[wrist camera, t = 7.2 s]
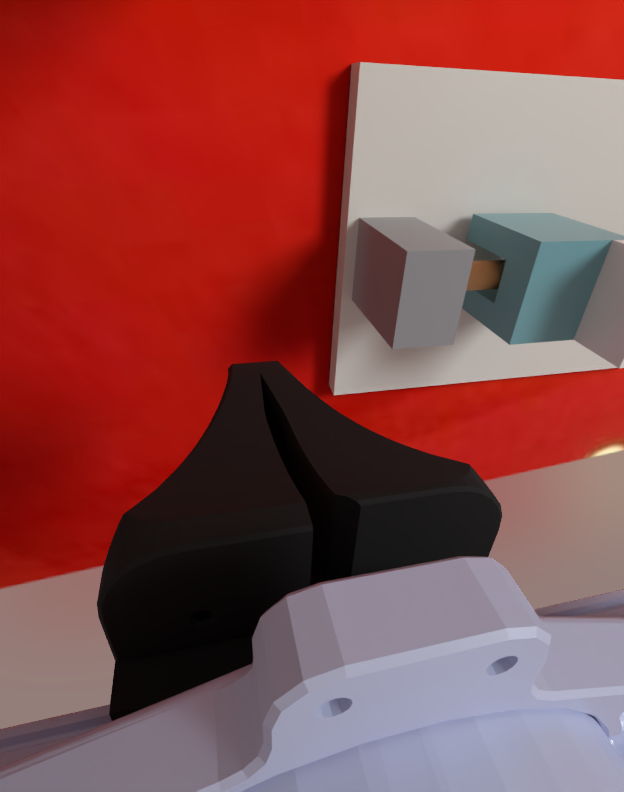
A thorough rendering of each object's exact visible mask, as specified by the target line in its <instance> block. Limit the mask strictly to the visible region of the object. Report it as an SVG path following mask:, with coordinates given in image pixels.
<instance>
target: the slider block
mask: <svg viewBox="0 0 624 792" xmlns="http://www.w3.org/2000/svg"><path fill="white" fill-rule="evenodd" d="M467 240H469V241H470V242H472V243H474V244H476V245H478V246H480V247H482V248H484V249H486V250H488V251H490V252H492V253H494V254H496V255H498V256H500V257H502V258H504V259H506V262H505V266H504V270H503V273H502V277H501V281H500V284H499V288H498V289H492V290H472V291H466V293H465V297H464V301H463V306H462V309H463V310H465V311H466V312H467V313H469V314H470V315H471V316H473V317H474V318H475V319H476V320H478V321H479V322H480V323H482V324H483V325H484V326H486V327H487V328H488V329H490V330H491V331H492V332H493V333H495V334H496V335H497V336H499V337H500V338H501V339H503V340H504V341H505V342H506V343H508V344H509V345H513V344H526V343H539V342H551V341H564V340H575V341H576V342H578V343H579V344H581V345H583V346H584V347H586V348H587V349H589V350H591V351H592V352H594V353H595V354H597V355H599V356H600V357H602V358H603V359H605V360H607V361H608V362H610V363H611V364H613V365H614V366H616V367H618V368H624V236H623V235H620V234H616V233H613V232H610V231H607V230H604V229H601V228H598V227H595V226H592V225H588V224H585V223H582V222H579V221H576V220H573V219H570V218H567V217H564V216H560V215H557V214H554V213H494V214H473V216H472V221H471V225H470V230H469V234H468V239H467Z"/></svg>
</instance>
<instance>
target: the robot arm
mask: <svg viewBox="0 0 624 792" xmlns="http://www.w3.org/2000/svg"><path fill="white" fill-rule="evenodd" d="M228 373H229V374H228V380H227V384H226V388H225V391H224V393H223V396H222V399H221V401H220V404H219V406H218V408H217V410H216V412H215V414H214V416H213V418H212V420H211V422H210V424H209V426H208V428H207V429H206V431H205V433H204V434H203V436H202V437H201V439H200V440H199V442H198V443H197V445H196V446H195V447H194V449H193V450H192V451H191V452H190V454H189V455H188V456H187V458H186V459H185V460H184V461H183V462H182V464H181V465H180V466H179V467H178V468H177V469H176V470H175V471H174V472H173V473H172V474H171V475H170V476H169V477H168V478H167V479H166V480H165V481H164V482H163V483H162V484H161V485H160V486H159V487H158V488H157V489H156V490H155V491H154V492H152V493H151V494H150V495H148V496H147V497H146V498H144V499H143V500H142V501H141V502H139V503H138V504H137V505H135V506H134V507H133V508H132V509H130V510H129V511H127V512H126V513H125V514H124V515H123V516H122V518H121V520H120V523H119V525H118V527H117V530H116V532H115V534H114V537H113V540H112V542H111V545H110V548H109V551H108V554H107V557H106V560H105V564H104V568H103V572H102V577H101V583H100V589H99V595H98V601H97V607H98V615H99V619H100V622H101V624H102V627H103V630H104V632H105V635H106V638H107V640H108V643H109V645H110V648H111V651H112V653H113V656H114V658H115V669H114V677H113V686H112V694H111V702H110V705H106V706H102V707H97V708H93V709H88V710H84V711H79V712H75V713H70V714H66V715H61V716H57V717H52V718H48V719H44V720H39V721H35V722H30V723H26V724H21V725H17V726H13V727H8V728H4V729H0V792H624V589H623V590H618V591H614V592H609V593H605V594H600V595H596V596H592V597H587V598H583V599H578V600H574V601H569V602H565V603H561V604H556V605H551V606H547V607H543V608H538V609H533V608H532V606H531V605H530V603H529V602H528V600H527V599H526V597H525V596H524V594H523V593H522V591H521V590H520V589H519V587H518V586H517V584H516V583H515V581H514V580H513V578H512V577H511V575H510V574H509V572H508V571H507V569H506V568H505V567H503V566H502V565H501V564H499V563H498V562H497V561H495V560H494V559H492V558H490V557H488V556H489V553H490V551H491V548H492V545H493V543H494V540H495V538H496V535H497V533H498V530H499V527H500V522H501V518H502V512H501V505H500V503H499V502H498V500H497V499H496V497H495V496H494V495H493V493H492V492H491V491H490V489H489V488H488V487H487V485H486V484H485V482H484V481H483V480H482V479H481V477H480V476H479V475H478V474H477V473H476V471H475V470H474V469H473V468H472V467H471V466H470V465H469V464H466V463H462V462H458V461H455V460H451V459H447V458H443V457H439V456H435V455H432V454H428V453H425V452H422V451H419V450H417V449H414V448H411V447H408V446H405V445H403V444H400V443H397V442H395V441H392V440H390V439H388V438H386V437H383V436H381V435H379V434H377V433H375V432H373V431H371V430H369V429H367V428H365V427H363V426H361V425H359V424H357V423H356V422H354V421H352V420H351V419H349V418H347V417H345V416H344V415H342V414H341V413H339V412H338V411H336V410H335V409H333V408H332V407H330V406H329V405H328V404H326V403H325V402H323V401H322V400H321V399H319V398H318V397H317V396H316V395H314V394H313V393H312V392H311V391H310V390H308V389H307V388H306V387H305V386H304V385H303V384H302V383H301V382H299V381H298V380H297V379H296V378H295V377H294V376H293V375H292V374H291V373H290V372H289V371H288V370H287V369H286V368H285V367H284V366H282V365H281V364H280V363H279V362H278V361H270V362H257V363H244V364H232V365H231V366H230V367H229V368H228Z"/></svg>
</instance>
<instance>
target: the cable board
mask: <svg viewBox="0 0 624 792" xmlns="http://www.w3.org/2000/svg"><path fill="white" fill-rule="evenodd" d="M494 213H554V214H557V215H560V216H564V217H567V218H570V219H573V220H576V221H579V222H582V223H585V224H588V225H592V226H595V227H598V228H601V229H604V230H607V231H610V232H613V233H616V234H620V235H623V236H624V80H616V79H602V78H587V77H572V76H557V75H542V74H527V73H513V72H498V71H483V70H468V69H453V68H438V67H424V66H409V65H394V64H379V63H364V62H359V63H353V64H352V65H351V79H350V93H349V107H348V122H347V136H346V150H345V164H344V178H343V192H342V207H341V221H340V235H339V249H338V263H337V277H336V292H335V306H334V320H333V334H332V348H331V363H330V377H329V386H330V388H331V391H332V393H333V395H342V394H352V393H362V392H373V391H383V390H393V389H404V388H414V387H424V386H434V385H445V384H455V383H465V382H476V381H486V380H496V379H506V378H517V377H527V376H537V375H548V374H558V373H568V372H578V371H589V370H599V369H609V368H618V367H616V366H614V365H613V364H611V363H610V362H608V361H607V360H605V359H603V358H602V357H600V356H599V355H597V354H595V353H594V352H592V351H591V350H589V349H587V348H586V347H584V346H583V345H581V344H579V343H578V342H576V341H575V340H564V341H551V342H539V343H526V344H513V345H509V344H508V343H506V342H505V341H504V340H503V339H501V338H500V337H499V336H497V335H496V334H495V333H493V332H492V331H491V330H490V329H488V328H487V327H486V326H484V325H483V324H482V323H480V322H479V321H478V320H476V319H475V318H474V317H473V316H471V315H470V314H469V313H467V312H466V311H465V310H463V309H462V306H463V301H464V297H465V293H466V291H472V290H492V289H498V288H499V284H500V281H501V277H502V273H503V270H504V266H505V262H506V259H504V258H502V257H500V256H498V255H496V254H494V253H492V252H490V251H488V250H486V249H484V248H482V247H480V246H478V245H476V244H474V243H472V242H470V241H469V240H467V239H468V234H469V230H470V225H471V221H472V216H473V214H494Z"/></svg>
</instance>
